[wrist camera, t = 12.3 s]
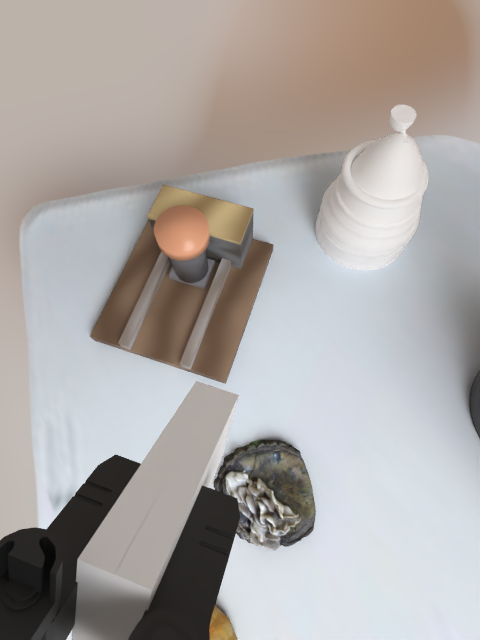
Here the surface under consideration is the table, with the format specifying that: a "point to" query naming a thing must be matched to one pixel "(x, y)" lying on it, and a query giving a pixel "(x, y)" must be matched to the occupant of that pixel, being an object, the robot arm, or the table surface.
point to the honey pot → (374, 199)
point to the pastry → (221, 626)
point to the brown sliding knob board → (188, 292)
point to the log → (269, 493)
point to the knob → (185, 244)
